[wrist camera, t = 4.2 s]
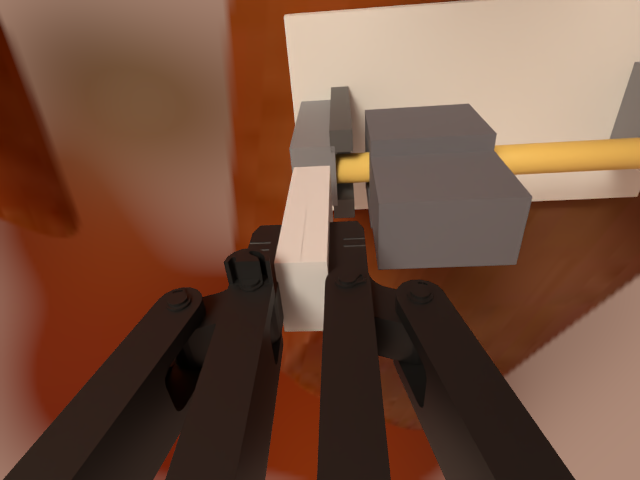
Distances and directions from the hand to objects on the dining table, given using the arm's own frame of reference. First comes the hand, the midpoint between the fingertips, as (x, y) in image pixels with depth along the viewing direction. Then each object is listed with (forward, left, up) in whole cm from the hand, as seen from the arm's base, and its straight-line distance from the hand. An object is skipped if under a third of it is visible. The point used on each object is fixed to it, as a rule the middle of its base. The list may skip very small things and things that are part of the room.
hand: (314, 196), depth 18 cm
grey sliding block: (0, +5, -5) cm, 7 cm away
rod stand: (0, +9, -10) cm, 14 cm away
